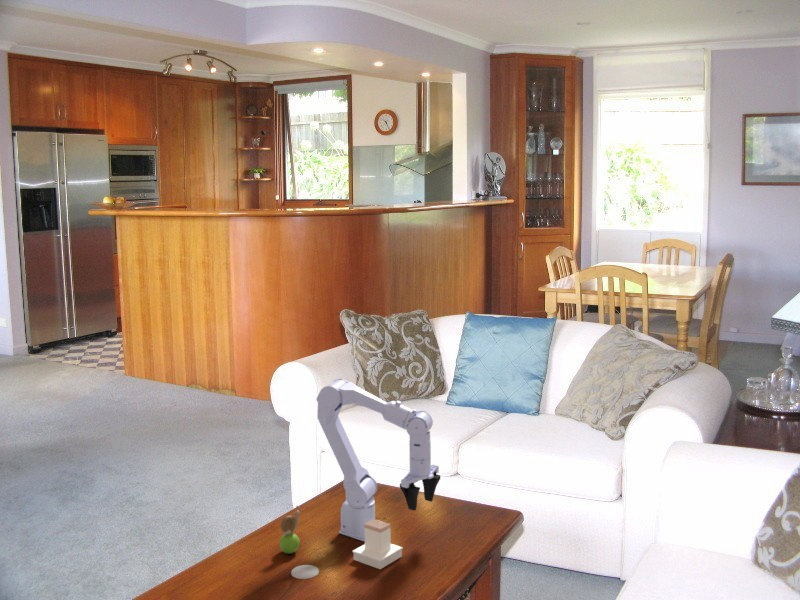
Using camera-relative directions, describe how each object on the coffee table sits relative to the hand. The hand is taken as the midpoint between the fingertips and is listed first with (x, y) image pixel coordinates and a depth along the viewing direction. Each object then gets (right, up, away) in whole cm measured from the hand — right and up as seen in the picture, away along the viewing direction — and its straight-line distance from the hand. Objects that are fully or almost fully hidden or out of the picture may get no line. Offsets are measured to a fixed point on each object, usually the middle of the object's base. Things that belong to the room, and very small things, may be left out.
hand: (420, 504), depth 227 cm
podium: (-11, -12, -8) cm, 18 cm away
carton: (-11, -10, -9) cm, 17 cm away
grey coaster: (-30, -14, -15) cm, 36 cm away
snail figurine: (-35, -12, -4) cm, 37 cm away
